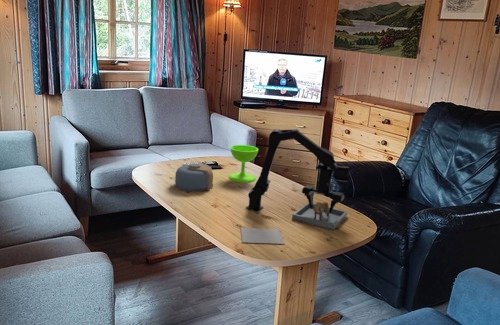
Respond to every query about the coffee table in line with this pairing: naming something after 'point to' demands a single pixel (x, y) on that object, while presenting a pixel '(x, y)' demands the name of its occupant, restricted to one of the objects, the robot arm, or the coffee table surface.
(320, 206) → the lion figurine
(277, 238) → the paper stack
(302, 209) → the tray
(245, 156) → the wineglass
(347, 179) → the robot arm
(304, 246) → the coffee table surface
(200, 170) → the alarm clock
